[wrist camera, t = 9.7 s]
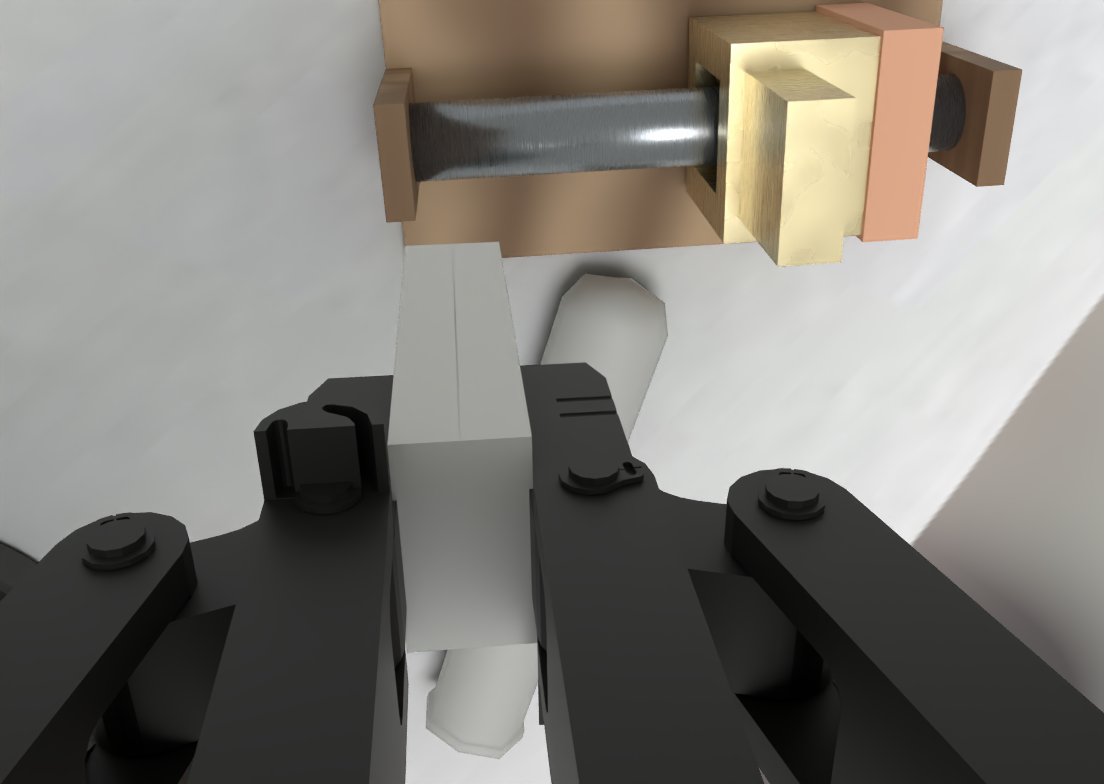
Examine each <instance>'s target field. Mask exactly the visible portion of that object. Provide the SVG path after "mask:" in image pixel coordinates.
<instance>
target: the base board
mask: <svg viewBox="0 0 1104 784" xmlns="http://www.w3.org/2000/svg"><path fill="white" fill-rule="evenodd" d="M942 2H943V0H379V7H380V17H381V26H382V36H383V45H384V55H385V64H386V70H385V73H384V76H383V79H382V82H381V85H380V87H379V90H378V93H377V96H376V99H375V102H374V105H373V107H374V116H375V125H376V133H377V142H378V151H379V160H380V169H381V178H382V187H383V196H384V204H385V213H386V222H402V225H403V234H404V244H405V246H413V245H437V244H460V243H483V242H499V245H500V251H501V257H502V258H508V257H524V256H540V255H556V254H571V253H587V252H603V251H619V250H635V249H651V248H666V247H682V246H698V245H714V244H724V243H723V242H722V241H721V239H720V238H719V237H718V235H717V234H716V232H715V231H714V230H713V228H712V227H711V225H710V224H709V223H708V221H707V220H706V218H705V217H704V216H703V214H702V213H701V211H700V210H699V209H698V207H697V206H696V204H695V203H694V202H693V200H692V199H691V197H690V196H689V195H688V193H687V192H686V167H687V166H681V167H664V168H647V169H630V170H613V171H596V172H579V173H562V174H545V175H528V176H511V177H494V178H477V179H460V180H443V181H426V182H416V180H415V175H414V169H413V161H412V151H411V140H410V125H409V103H420V102H439V101H457V100H475V99H494V98H512V97H530V96H549V95H567V94H585V93H604V92H622V91H640V90H659V89H677V88H688V70H689V22H690V18H694V17H714V16H734V15H754V14H773V13H793V12H813V11H816V5H830V4H850V3H869V4H872V5H875V6H879V7H882V8H885V9H888V10H891V11H894V12H897V13H900V14H903V15H906V16H909V17H913V18H916V19H919V20H922V21H925V22H928V23H931V24H934V25H937V26H940V18H941V10H942ZM938 74H955V75H956V76H957V77H958V78H959V79H960V81H961V83H962V86H963V89H964V93H965V99H966V117H965V124H964V129H963V132H962V135H961V138H960V140H959V142H958V144H957V145H956V146H955V148H953V149H952V150H950V151H937V152H928V157H929V158H931V159H932V160H934V161H935V162H937V163H939V164H940V165H942V166H944V167H945V168H947V169H949V170H950V171H952V172H954V173H955V174H957V175H958V176H960V177H962V178H963V179H965V180H967V181H968V182H970V183H972V184H973V185H975V186H977V187H978V186H994V185H1004V181H1005V175H1006V168H1007V162H1008V156H1009V150H1010V143H1011V137H1012V131H1013V125H1014V118H1015V112H1016V106H1017V100H1018V93H1019V87H1020V81H1021V75H1022V69H1019V68H1016V67H1013V66H1010V65H1007V64H1005V63H1002V62H999V61H996V60H993V59H990V58H988V57H985V56H982V55H979V54H976V53H973V52H971V51H968V50H965V49H962V48H959V47H957V46H954V45H951V44H948V43H945V42H942V47H941V55H940V63H939V71H938ZM852 236H856V235H852ZM742 243H746V242H742ZM726 244H730V243H726Z"/></svg>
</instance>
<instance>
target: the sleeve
mask: <svg viewBox="0 0 1104 784" xmlns="http://www.w3.org/2000/svg"><path fill="white" fill-rule="evenodd" d="M880 43H881V36H879V35H877V34H874V33H872V32H869V31H866V30H864V29H861V28H859V27H856V26H854V25H851V24H849V23H846V22H843V21H841V20H838V19H836V18H833V17H831V16H828V15H826V14H823V13H821V12H818V11H813V12H793V13H773V14H754V15H734V16H714V17H694V18H690V22H689V70H688V88H695V87H714V86H720V96H719V125H718V154H717V164H715V165H698V166H687V167H686V192H687V193H688V195H689V196H690V197H691V199H692V200H693V202H694V203H695V204H696V206H697V207H698V209H699V210H700V211H701V213H702V214H703V216H704V217H705V218H706V220H707V221H708V223H709V224H710V225H711V227H712V228H713V230H714V231H715V232H716V234H717V235H718V237H719V238H720V239H721V241H722V242H723V243H724V244H726V243H742V242H758V243H759V244H760V245H761V247H762V248H763V249H764V250H765V251H766V253H767V254H768V255H769V256H770V258H771V259H772V260H773V261H774V263H775V264H776V265H777V266H792V265H808V264H823V263H839V262H841V258H842V247H843V236H852V235H861V234H862V224H863V214H864V204H865V194H866V184H867V174H868V164H869V154H870V144H871V134H872V124H873V114H874V104H875V94H876V84H877V74H878V64H879V53H880Z"/></svg>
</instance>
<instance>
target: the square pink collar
mask: <svg viewBox="0 0 1104 784" xmlns="http://www.w3.org/2000/svg"><path fill="white" fill-rule="evenodd" d="M816 11H818V12H821V13H823V14H826V15H828V16H831V17H833V18H836V19H838V20H841V21H843V22H846V23H849V24H851V25H854V26H856V27H859V28H861V29H864V30H866V31H869V32H872V33H874V34H877V35H879V36H881V43H880V53H879V64H878V74H877V84H876V94H875V104H874V114H873V124H872V134H871V144H870V154H869V164H868V174H867V184H866V194H865V204H864V214H863V224H862V234H861V235H856V236H857V237H858V238H859V239H860V240H861V241H862V242H872V241H887V240H903V239H917V238H918V230H919V222H920V214H921V206H922V198H923V190H924V182H925V174H926V166H927V158H928V150H929V142H930V134H931V127H932V119H933V111H934V103H935V95H936V87H937V79H938V71H939V63H940V55H941V47H942V39H943V31H944V28H943V27H940V26H937V25H934V24H931V23H928V22H925V21H922V20H919V19H916V18H913V17H909V16H906V15H903V14H900V13H897V12H894V11H891V10H888V9H885V8H882V7H879V6H875V5H872V4H869V3H850V4H830V5H816Z"/></svg>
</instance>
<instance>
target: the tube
mask: <svg viewBox="0 0 1104 784" xmlns="http://www.w3.org/2000/svg"><path fill="white" fill-rule="evenodd" d="M667 337H668V332H667V322H666V311H665V303H664V302H663V301H661V300H660V299H659V298H657V297H656V296H655V295H653V294H652V293H651V292H649V291H648V290H647V289H645V288H644V287H643V286H641V285H640V284H639V283H637V282H636V281H635V280H633V279H632V278H617V277H609V276H600V275H592V274H584V275H583V276H582V277H581V278H580V279H579V280H578V281H577V282H576V283H575V284H574V285H573V286H572V287H571V288H570V289H569V290H568V291H567V292H566V293H565V294H564V295H563V296H562V299H561V302H560V305H559V308H558V311H557V314H556V318H555V321H554V324H553V327H552V330H551V333H550V336H549V339H548V342H547V345H546V348H545V351H544V354H543V358H542V361H541V364H540V365H544V364H563V363H582V362H586V363H587V364H588V365H590V366H591V367H592V368H594V369H595V370H596V371H598V372H599V373H600V374H602V375H603V376H604V377H606V380H607V383H608V386H609V389H610V392H611V395H612V399H613V401H614V404H615V407H616V410H617V414H618V415H619V418H620V421H621V424H622V427H623V430H624V433H625V436H626V439H627V442H628V441H629V438H630V435H631V433H632V430H633V427H634V425H635V422H636V419H637V417H638V414H639V411H640V409H641V406H642V403H643V401H644V398H645V395H646V393H647V390H648V387H649V385H650V382H651V379H652V377H653V374H654V371H655V369H656V366H657V363H658V361H659V358H660V355H661V353H662V350H663V347H664V345H665V342H666V339H667ZM537 683H538V653H537V643H531V644H518V645H504V646H491V647H478V648H464V649H451V650H447V653H446V656H445V659H444V662H443V665H442V668H441V672H440V675H439V678H438V681H437V684H436V687H435V688H434V689H432V690H431V691H430V692H429V694H428V697H427V710H426V728H427V729H428V730H429V731H431V732H432V733H433V734H435V735H436V736H437V737H439V738H440V739H441V740H443V741H444V742H446V743H447V744H448V745H450V746H451V747H452V748H454V749H455V750H456V751H458V752H461V753H467V754H473V755H479V756H485V757H491V758H497V759H500V758H501V757H502V756H503V755H504V754H505V753H506V752H507V751H508V750H509V749H511V748H512V747H513V746H514V745H515V744H516V743H517V742H518V741H519V740H520V739H521V738H522V737H523V734H524V718H525V715H526V713H527V710H528V707H529V705H530V702H531V699H532V697H533V694H534V691H535V689H536V686H537Z"/></svg>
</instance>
